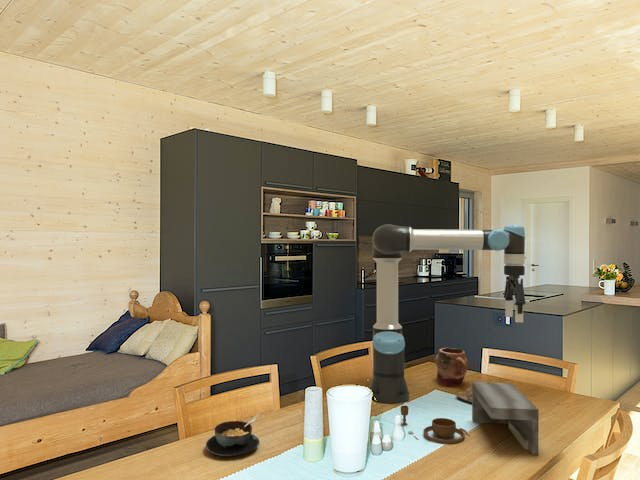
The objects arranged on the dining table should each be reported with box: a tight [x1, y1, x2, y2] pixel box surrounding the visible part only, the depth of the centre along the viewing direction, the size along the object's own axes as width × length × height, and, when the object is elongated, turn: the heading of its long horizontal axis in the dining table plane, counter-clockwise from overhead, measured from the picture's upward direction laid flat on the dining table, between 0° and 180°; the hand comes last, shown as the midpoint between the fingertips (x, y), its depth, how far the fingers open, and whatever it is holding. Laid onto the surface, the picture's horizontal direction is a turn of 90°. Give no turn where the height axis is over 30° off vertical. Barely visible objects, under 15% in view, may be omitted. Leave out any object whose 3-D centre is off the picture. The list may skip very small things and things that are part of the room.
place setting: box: [400, 405, 471, 445], centre depth 154 cm, size 18×20×6 cm
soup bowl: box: [205, 413, 261, 457], centre depth 143 cm, size 15×16×7 cm
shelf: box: [471, 381, 540, 457], centre depth 150 cm, size 12×26×12 cm, turn 174°
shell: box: [455, 388, 472, 405], centre depth 184 cm, size 12×13×4 cm
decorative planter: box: [434, 347, 470, 387], centre depth 205 cm, size 20×12×14 cm, turn 20°
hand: (513, 319), depth 197 cm, fingers open, 13 cm apart
